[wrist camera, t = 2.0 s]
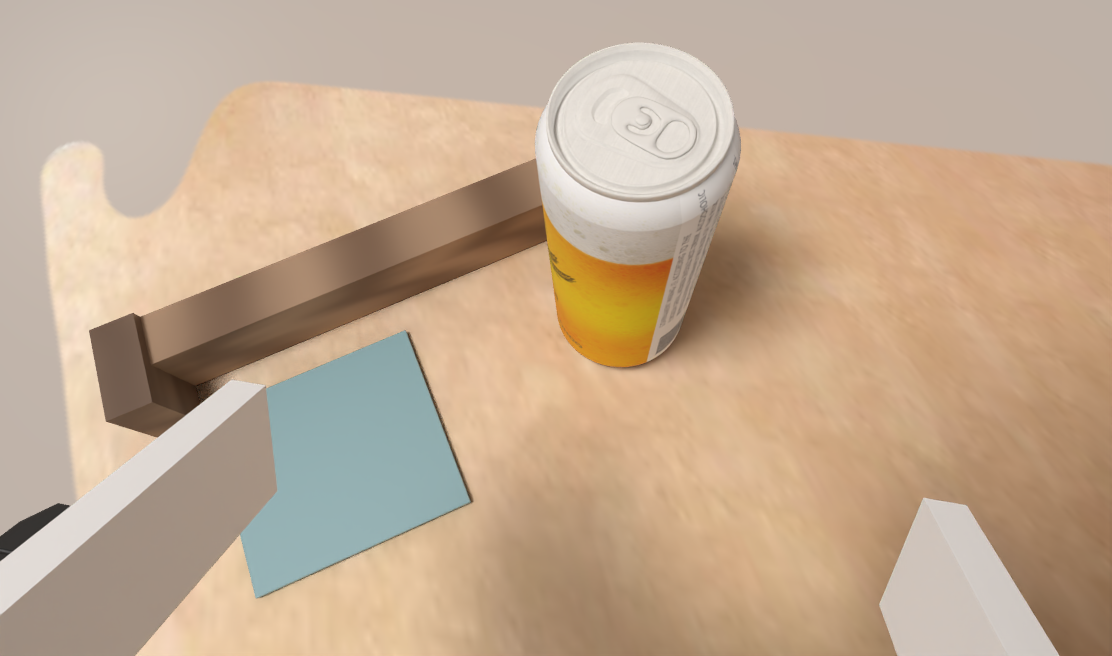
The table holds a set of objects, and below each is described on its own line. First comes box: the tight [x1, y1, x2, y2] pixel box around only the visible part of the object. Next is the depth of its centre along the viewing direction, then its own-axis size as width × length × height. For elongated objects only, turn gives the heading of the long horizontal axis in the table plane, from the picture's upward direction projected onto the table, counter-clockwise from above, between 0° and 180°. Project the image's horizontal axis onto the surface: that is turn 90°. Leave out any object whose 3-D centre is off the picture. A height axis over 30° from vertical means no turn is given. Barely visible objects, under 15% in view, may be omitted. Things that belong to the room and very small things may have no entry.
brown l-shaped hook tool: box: [89, 159, 547, 437], centre depth 31 cm, size 24×4×4 cm, turn 114°
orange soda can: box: [535, 43, 741, 367], centre depth 25 cm, size 6×6×15 cm
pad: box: [240, 331, 471, 598], centre depth 31 cm, size 10×9×1 cm
